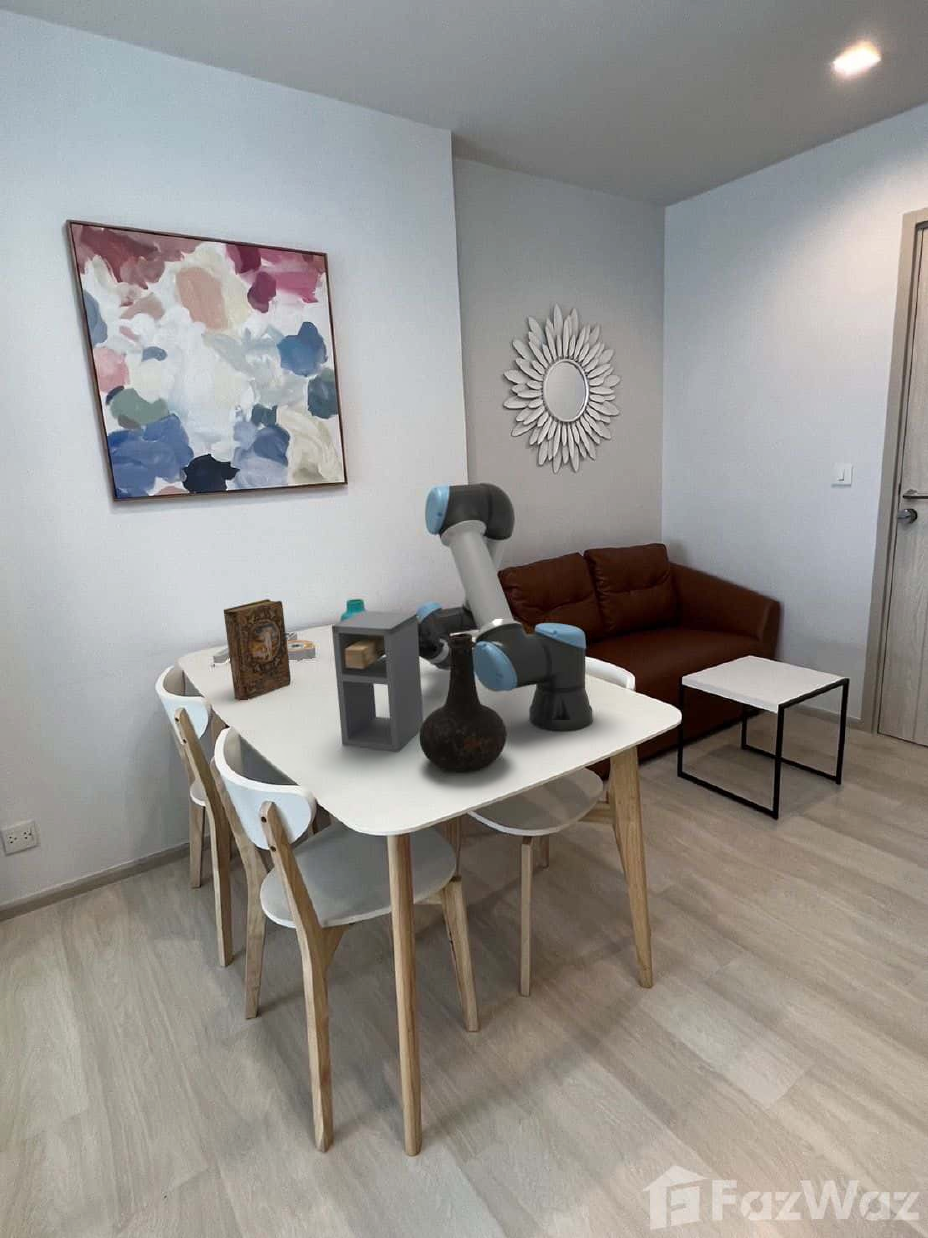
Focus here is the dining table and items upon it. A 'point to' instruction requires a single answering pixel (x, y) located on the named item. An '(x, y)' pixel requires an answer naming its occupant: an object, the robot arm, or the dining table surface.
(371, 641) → the wooden bar
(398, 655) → the shelf
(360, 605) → the vase
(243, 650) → the book
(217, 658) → the sign
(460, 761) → the glass bottle
